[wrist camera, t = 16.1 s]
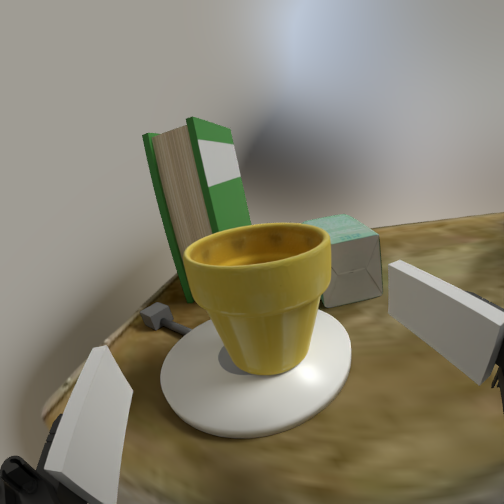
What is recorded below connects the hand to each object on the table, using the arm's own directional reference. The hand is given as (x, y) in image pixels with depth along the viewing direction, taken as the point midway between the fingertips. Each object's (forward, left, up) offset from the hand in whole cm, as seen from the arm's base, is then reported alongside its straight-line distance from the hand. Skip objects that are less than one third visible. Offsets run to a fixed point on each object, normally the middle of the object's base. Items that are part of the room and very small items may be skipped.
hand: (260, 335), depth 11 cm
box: (+7, -24, -10) cm, 27 cm away
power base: (+13, -6, -10) cm, 17 cm away
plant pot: (+6, -7, -8) cm, 12 cm away
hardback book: (+26, -21, -10) cm, 35 cm away
